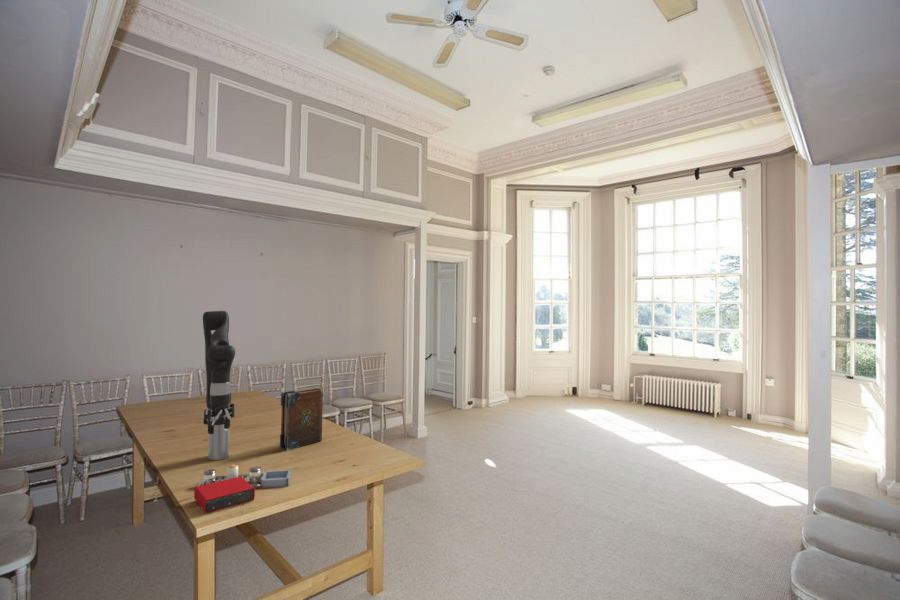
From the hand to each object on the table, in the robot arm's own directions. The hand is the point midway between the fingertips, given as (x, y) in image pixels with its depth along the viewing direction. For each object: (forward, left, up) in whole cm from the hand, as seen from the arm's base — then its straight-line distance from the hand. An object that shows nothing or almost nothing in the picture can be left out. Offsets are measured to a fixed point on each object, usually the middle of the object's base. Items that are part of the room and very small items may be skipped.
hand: (219, 431), depth 189 cm
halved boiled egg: (-3, +5, -23) cm, 24 cm away
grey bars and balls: (-1, +5, -23) cm, 24 cm away
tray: (-1, +23, -23) cm, 33 cm away
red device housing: (+15, +6, -23) cm, 28 cm away
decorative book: (-54, +30, -24) cm, 66 cm away
